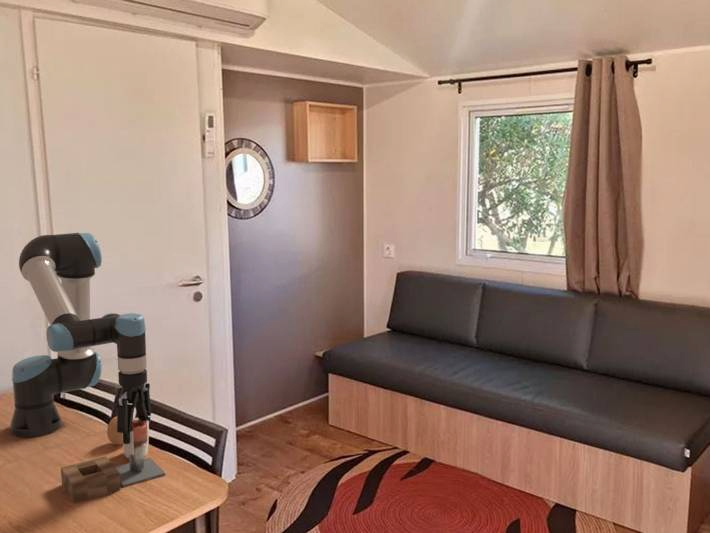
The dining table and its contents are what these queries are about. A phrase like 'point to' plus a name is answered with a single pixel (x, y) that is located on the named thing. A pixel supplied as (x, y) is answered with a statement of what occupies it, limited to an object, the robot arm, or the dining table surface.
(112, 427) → the egg
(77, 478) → the eye block
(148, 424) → the white cup
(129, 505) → the dining table surface
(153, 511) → the dining table surface
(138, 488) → the dining table surface
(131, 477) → the mat
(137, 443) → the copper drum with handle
